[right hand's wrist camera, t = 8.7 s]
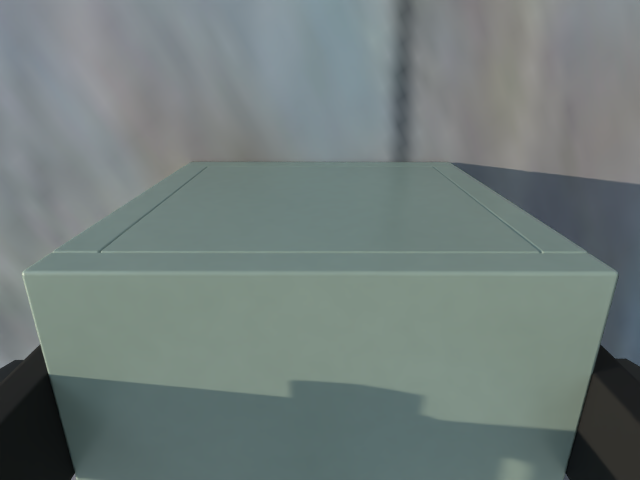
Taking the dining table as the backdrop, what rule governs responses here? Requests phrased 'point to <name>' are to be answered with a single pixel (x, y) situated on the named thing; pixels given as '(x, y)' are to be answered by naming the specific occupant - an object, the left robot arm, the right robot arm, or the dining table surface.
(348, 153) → the dining table surface
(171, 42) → the dining table surface
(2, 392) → the right robot arm
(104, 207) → the dining table surface
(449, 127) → the dining table surface
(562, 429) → the cabinet
